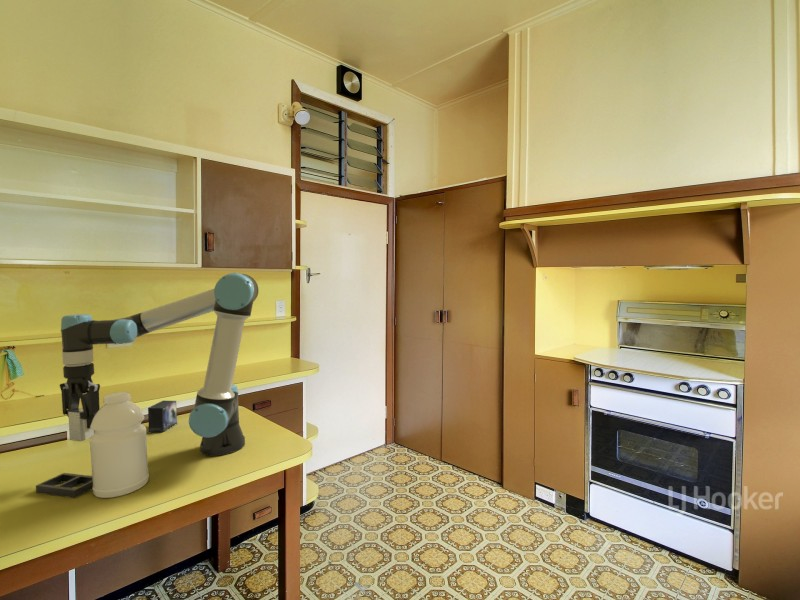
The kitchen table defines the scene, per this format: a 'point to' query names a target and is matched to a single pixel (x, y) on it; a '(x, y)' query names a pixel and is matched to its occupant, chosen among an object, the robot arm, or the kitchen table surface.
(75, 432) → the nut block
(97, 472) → the bottle
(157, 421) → the small box
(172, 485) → the kitchen table surface
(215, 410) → the robot arm
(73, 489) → the divided tray
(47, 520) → the kitchen table surface
